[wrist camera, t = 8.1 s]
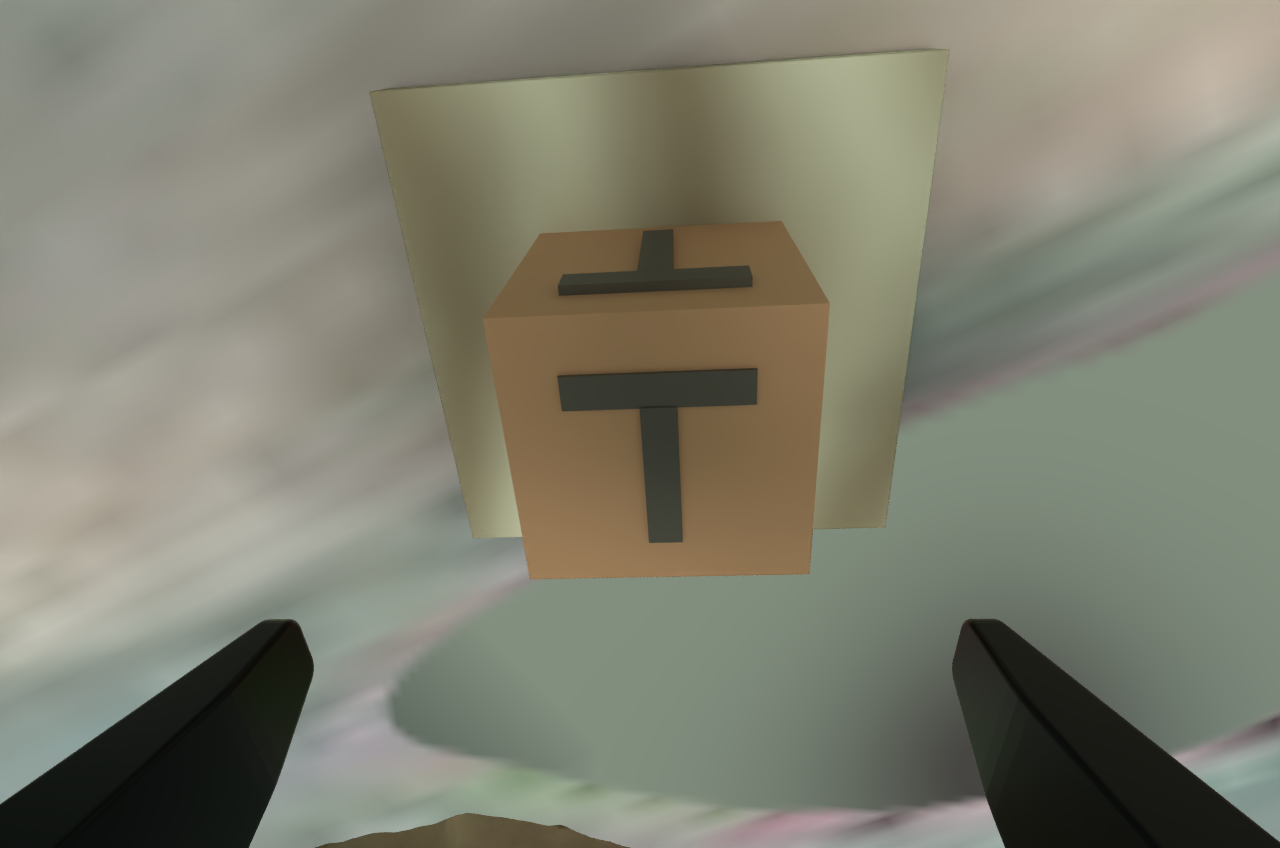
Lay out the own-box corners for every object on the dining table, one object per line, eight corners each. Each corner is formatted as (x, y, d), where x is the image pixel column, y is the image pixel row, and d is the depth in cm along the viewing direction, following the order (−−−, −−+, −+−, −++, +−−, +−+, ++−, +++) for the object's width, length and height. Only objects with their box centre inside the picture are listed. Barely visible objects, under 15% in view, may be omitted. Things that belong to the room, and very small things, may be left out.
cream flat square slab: (482, 515, 23) (473, 538, 22) (388, 88, 17) (369, 92, 16) (875, 504, 22) (885, 527, 21) (931, 48, 16) (949, 50, 15)
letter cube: (567, 438, 20) (529, 582, 15) (539, 225, 17) (479, 309, 12) (773, 432, 20) (810, 577, 15) (782, 212, 17) (831, 294, 12)
